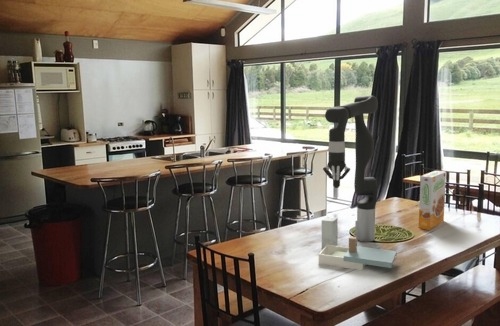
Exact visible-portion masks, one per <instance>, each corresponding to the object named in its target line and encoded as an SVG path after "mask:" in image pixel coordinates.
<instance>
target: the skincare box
mask: <svg viewBox="0 0 500 326" xmlns="http://www.w3.org/2000/svg"><path fill="white" fill-rule="evenodd" d="M338 235H339V232H338V217H332V216H331V217H330V216H326V217H324V218H323V219H322V220H321V249H322V250H323V249H324V248H325V246H326V245H334V246H339V245H338V241H339V240H338V238H339V237H338Z"/></svg>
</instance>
